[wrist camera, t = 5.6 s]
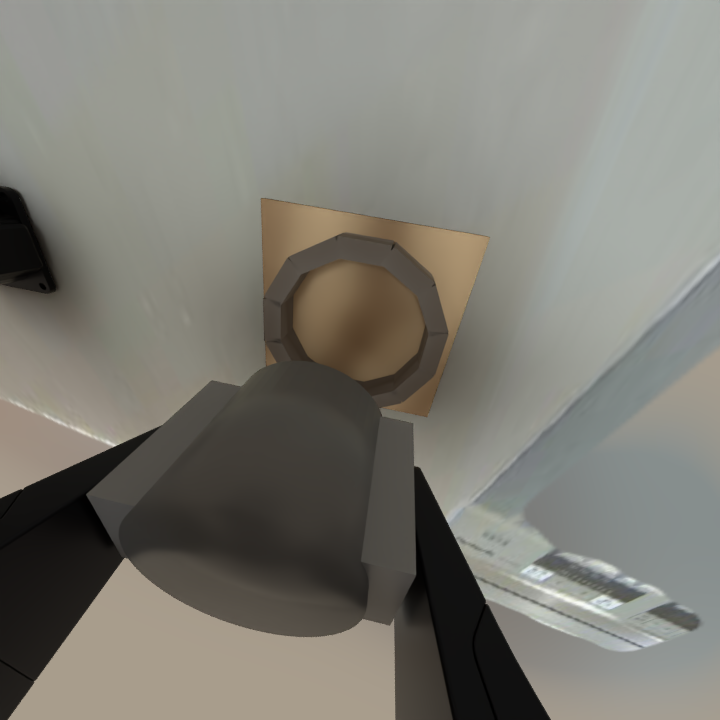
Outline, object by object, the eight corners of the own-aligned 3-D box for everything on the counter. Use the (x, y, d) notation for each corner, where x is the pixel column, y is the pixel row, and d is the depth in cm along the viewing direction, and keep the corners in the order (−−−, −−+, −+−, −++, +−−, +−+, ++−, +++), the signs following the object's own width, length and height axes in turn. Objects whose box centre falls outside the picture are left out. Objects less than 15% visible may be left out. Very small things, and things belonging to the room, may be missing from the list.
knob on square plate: (270, 378, 21) (253, 399, 19) (265, 198, 15) (241, 197, 13) (426, 411, 21) (428, 437, 18) (487, 236, 15) (501, 242, 12)
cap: (226, 455, 11) (126, 595, 7) (210, 341, 8) (39, 462, 4) (389, 492, 11) (378, 662, 7) (423, 384, 8) (438, 556, 4)
